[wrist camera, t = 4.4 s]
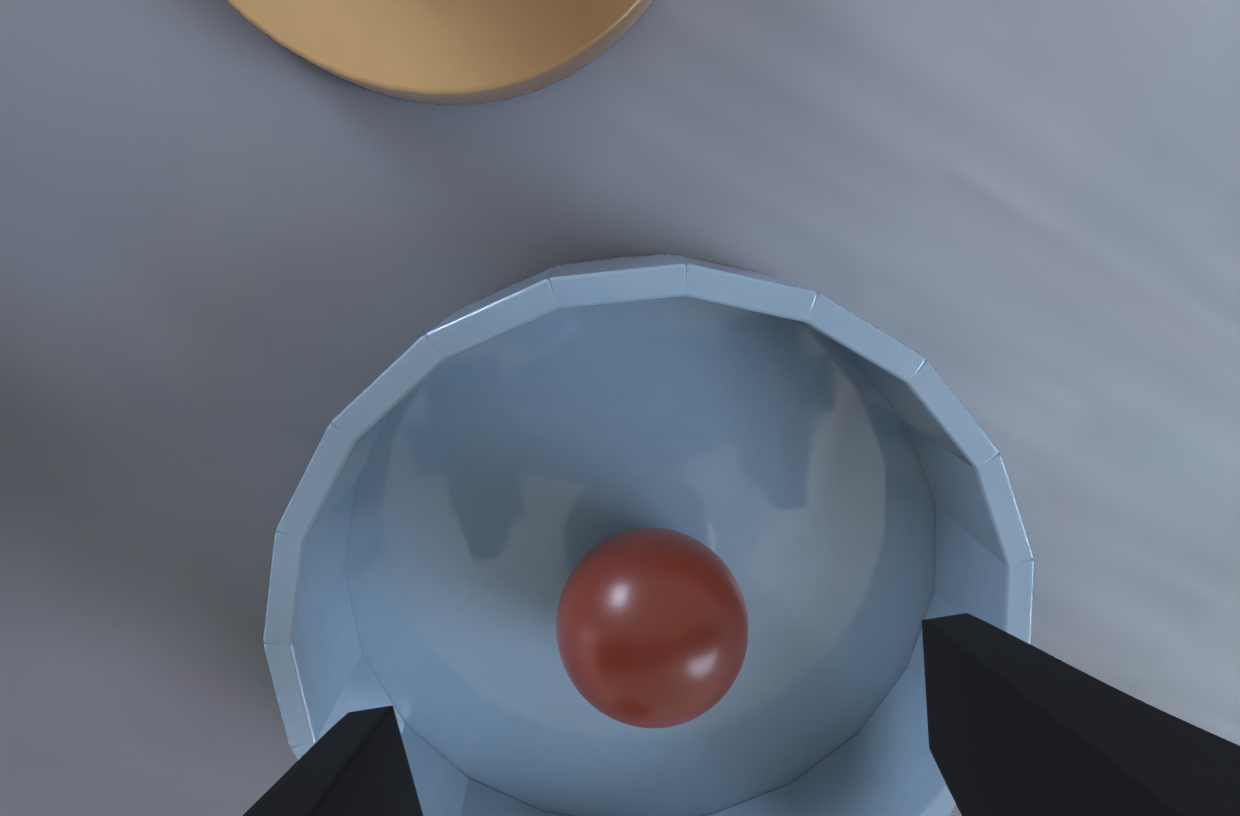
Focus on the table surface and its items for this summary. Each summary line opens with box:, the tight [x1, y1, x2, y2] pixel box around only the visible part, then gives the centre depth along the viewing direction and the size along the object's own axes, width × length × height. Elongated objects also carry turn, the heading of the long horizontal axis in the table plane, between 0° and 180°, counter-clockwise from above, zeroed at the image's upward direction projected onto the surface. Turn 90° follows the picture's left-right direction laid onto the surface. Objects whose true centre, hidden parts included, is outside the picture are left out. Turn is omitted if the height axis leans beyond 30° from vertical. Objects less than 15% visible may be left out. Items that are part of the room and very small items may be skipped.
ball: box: [556, 528, 748, 728], centre depth 12 cm, size 3×3×3 cm
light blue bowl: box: [263, 254, 1035, 816], centre depth 13 cm, size 12×12×3 cm
